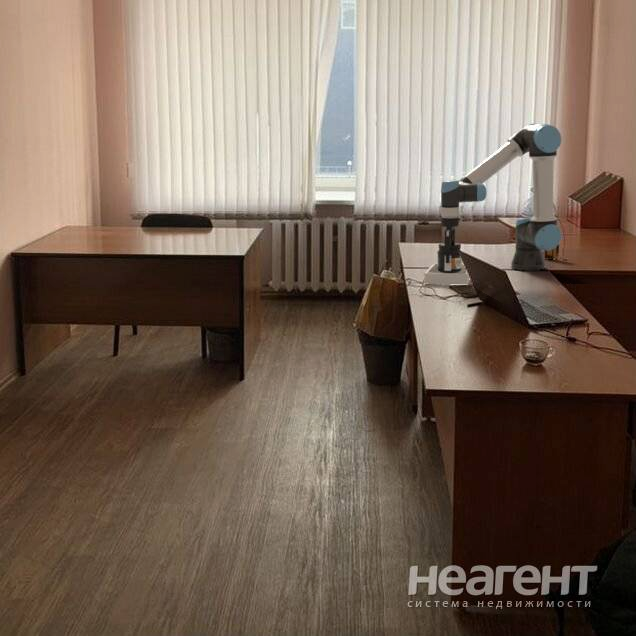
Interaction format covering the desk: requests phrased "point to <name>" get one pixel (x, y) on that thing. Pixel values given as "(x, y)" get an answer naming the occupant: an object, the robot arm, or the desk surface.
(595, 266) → the desk surface
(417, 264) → the desk surface
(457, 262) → the supplement container
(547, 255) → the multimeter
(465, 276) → the block
